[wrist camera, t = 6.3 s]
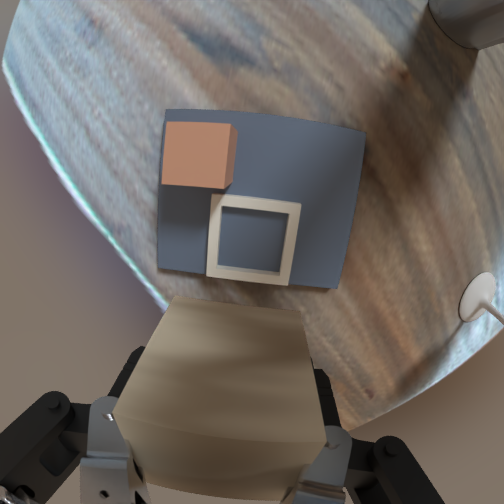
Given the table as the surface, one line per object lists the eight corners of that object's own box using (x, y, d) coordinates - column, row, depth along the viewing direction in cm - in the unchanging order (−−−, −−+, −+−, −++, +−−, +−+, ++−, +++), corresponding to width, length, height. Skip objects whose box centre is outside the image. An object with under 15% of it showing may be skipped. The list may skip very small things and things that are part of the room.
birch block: (300, 310, 11) (326, 441, 5) (278, 393, 12) (283, 500, 7) (175, 295, 11) (112, 412, 5) (178, 380, 12) (146, 482, 7)
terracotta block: (238, 131, 24) (230, 123, 19) (232, 182, 26) (223, 188, 20) (187, 128, 24) (166, 121, 18) (182, 177, 26) (161, 184, 20)
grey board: (361, 133, 25) (369, 132, 23) (334, 282, 31) (339, 293, 28) (170, 111, 25) (162, 107, 23) (162, 262, 31) (154, 271, 28)
